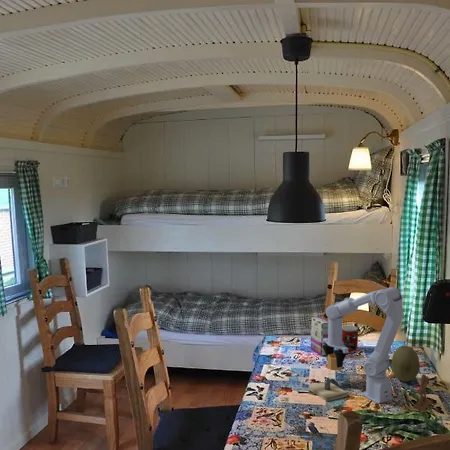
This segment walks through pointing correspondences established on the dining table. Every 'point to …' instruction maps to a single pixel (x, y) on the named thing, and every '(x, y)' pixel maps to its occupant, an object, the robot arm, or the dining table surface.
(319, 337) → the candy bar box
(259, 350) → the dining table surface
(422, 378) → the brown figurine
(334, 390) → the base block
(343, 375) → the dining table surface
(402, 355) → the fruit
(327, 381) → the post
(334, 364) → the collar
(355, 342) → the canned food
